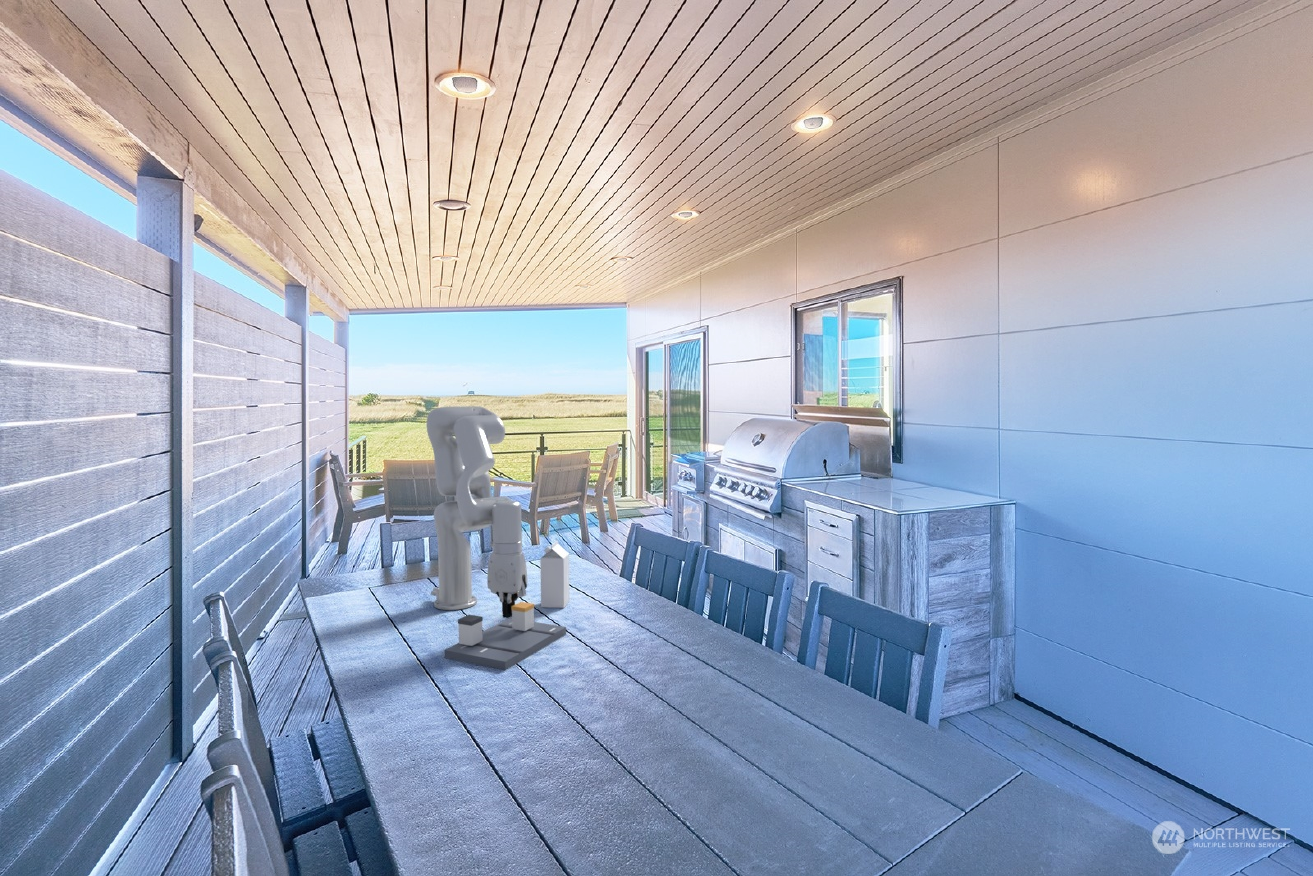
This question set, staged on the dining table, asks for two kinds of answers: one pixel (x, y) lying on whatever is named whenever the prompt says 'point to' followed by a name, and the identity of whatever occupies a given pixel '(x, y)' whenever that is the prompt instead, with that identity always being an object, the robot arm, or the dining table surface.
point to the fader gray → (470, 630)
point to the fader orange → (522, 616)
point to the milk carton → (554, 577)
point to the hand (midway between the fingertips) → (508, 616)
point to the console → (506, 645)
